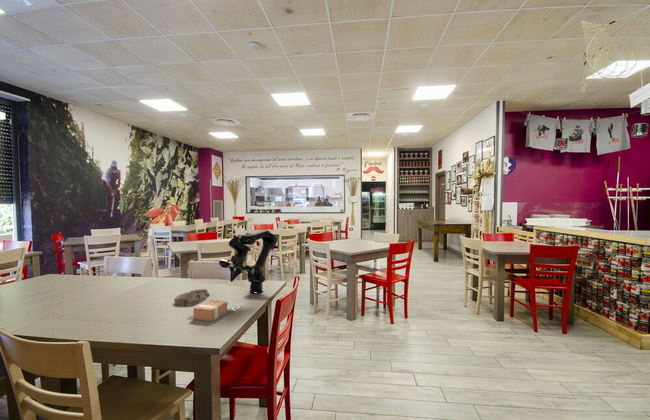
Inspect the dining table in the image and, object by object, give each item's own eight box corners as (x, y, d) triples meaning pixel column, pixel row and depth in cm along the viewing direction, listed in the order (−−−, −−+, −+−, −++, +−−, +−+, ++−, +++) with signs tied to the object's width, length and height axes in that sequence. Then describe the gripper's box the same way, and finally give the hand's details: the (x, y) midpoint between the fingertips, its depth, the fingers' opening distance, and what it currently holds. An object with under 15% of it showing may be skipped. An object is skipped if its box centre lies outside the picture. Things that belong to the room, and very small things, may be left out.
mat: (217, 304, 152) (217, 303, 152) (243, 307, 148) (243, 306, 148) (186, 319, 131) (186, 319, 131) (216, 323, 126) (216, 322, 126)
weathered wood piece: (195, 294, 171) (170, 304, 152) (196, 286, 171) (170, 295, 152) (216, 296, 168) (192, 307, 149) (216, 288, 168) (193, 298, 149)
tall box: (210, 300, 142) (193, 307, 131) (227, 301, 140) (211, 309, 128) (210, 310, 142) (193, 318, 131) (227, 312, 140) (211, 321, 128)
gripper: (222, 245, 155) (210, 272, 147) (255, 253, 155) (245, 280, 146) (226, 253, 165) (215, 279, 157) (258, 260, 164) (248, 287, 156)
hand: (231, 281), depth 154 cm, fingers closed
